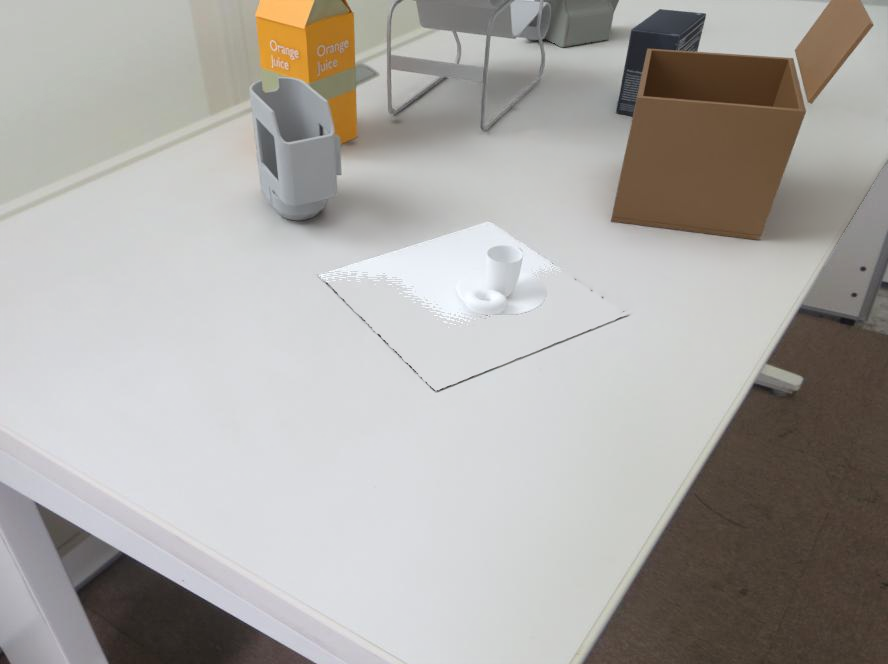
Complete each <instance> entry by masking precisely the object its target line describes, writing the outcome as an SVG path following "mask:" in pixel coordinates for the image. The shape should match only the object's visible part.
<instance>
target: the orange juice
mask: <svg viewBox="0 0 888 664" xmlns="http://www.w3.org/2000/svg"><path fill="white" fill-rule="evenodd" d="M254 16H255V22H256V31H257V32H256V33H257V42H258V51H259V59H260V73H261V74H260V76H261V81H262V87H263V91H265V92H266V91H272V90H276V89H277V88H278V77H291V78H297V79H300V80H302V81H304V82H305V83H306V84H308V85H309V86H310V87H311V88H312V89H314V90H315V91H316V92H317V93H318V94H320V95H321V96H322V97H323V98H325V99H326V100H327V101H328V103H329V107H330V111H331V115H332V120H333V124H334V131H335V135H338V136H340V145H342V144H345V143H347V142H349V141H351V140H354V139H357V138H358V117H357V116H358V115H357V67H356V45H355V44H356V42H355V12H354V11H352V9H351V7H350V5H349V3H348V1H347V0H259V2H258V4H257V9H256V10H255V14H254Z"/></svg>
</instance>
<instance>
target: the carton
mask: <svg viewBox="0 0 888 664" xmlns="http://www.w3.org/2000/svg"><path fill="white" fill-rule="evenodd" d="M794 59H795V58H794V57H783V56H782V57H781V56H770V55H769V56H768V55H753V54H752V55H751V54H739V53H738V54H736V53H735V54H734V53H720V52H708V51H707V52H706V51H697V52H693V51H678V50H663V49H647V52H646V57H645V62H644V66H643V71H642V76H641V80H640V85H639V90H638V94H637V99H636V104H635V109H634V113H633V116H632V118H631V123H630V128H629V132H628V137H627V141H626V147H625V152H624V155H623V161H622V164H621V169H620V175H619V180H618V184H617V189H616V194H615V199H614V202H613V203H614V204H613V208H612V213H611V218H610V222H613V223H615V222H616V223H622V224H629V223H630V225H636V226H637V225H638V226H645V227H653V228H662V229H669V230H675V231H676V230H678V231H685V232H693V233H699V234H700V233H701V234H709V235H717V236H723V237H732V238H739V239H745V240H746V239H747V240H754V241H755V240H756V241H760V240H761V237H762V234H763V232H764V229H765V226H766V223H767V221H768V218H769V216H770V212H771V209H772V207H773V204H774V201H775V198H776V196H777V193H778V190H779V187H780V184H781V182H782V180H783V178H784V177H783V176H784V175H785V171H786V168H787V165H788V163H789V160H790V158H791V155H792V152H793V149H794V146H795V143H796V141H797V138H798V135H799V132H800V129H801V127H802V124H803V121H804V118H805V116H806V113H807V109H806V105H805V101H804V97H803V92H802V89H801V84H800V80H799V76H798V72H797V68H796V63H795V60H794Z"/></svg>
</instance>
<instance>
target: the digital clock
mask: <svg viewBox="0 0 888 664" xmlns="http://www.w3.org/2000/svg"><path fill="white" fill-rule="evenodd" d="M533 1H537V2H540V0H533ZM544 2H547V3H549V4H550V6H551V17H550V23H549V27H548V30H547V33H546V35H545V37H544V38H543V39H542V40H545V39H546V40H545V41H547V40H548V42H549V41H550V42H549V43H551V42H552V43H551V44H553V43H555V44H556V46H557V45H558V46H557V47H559V48H566V47H574V46H581V45H585V43H586V44H592V43H597V42H603V40H604V41H608V40H610V37H611V31H612V25H613V20H614V13H615V11H616V9H617V7H618V4H619V2H620V0H544ZM525 39H526V40H528V41H538V40H537V39H529V38H525ZM591 42H592V43H591ZM555 44H554V45H555ZM573 45H574V46H573Z"/></svg>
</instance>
